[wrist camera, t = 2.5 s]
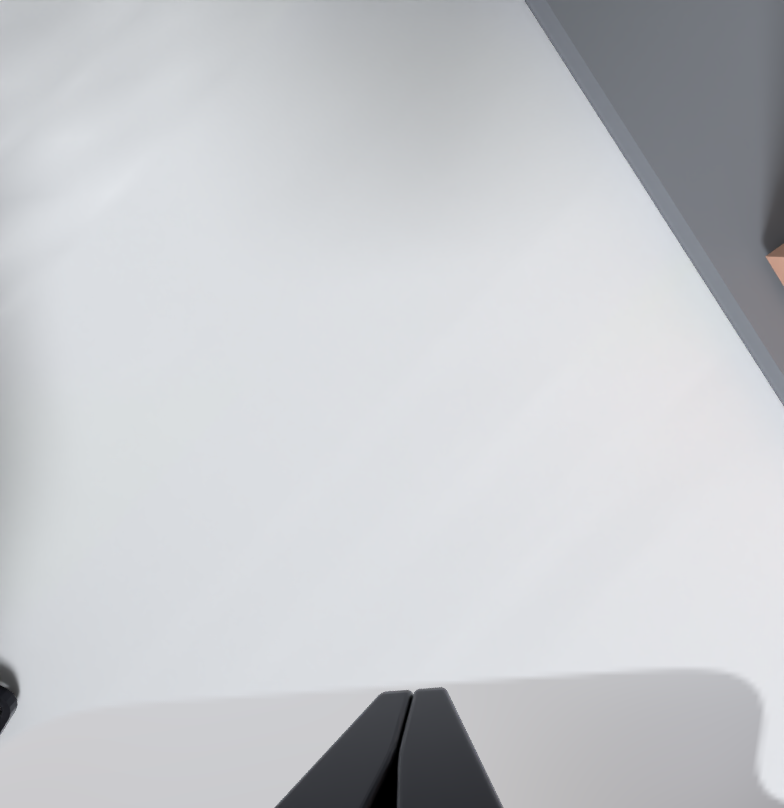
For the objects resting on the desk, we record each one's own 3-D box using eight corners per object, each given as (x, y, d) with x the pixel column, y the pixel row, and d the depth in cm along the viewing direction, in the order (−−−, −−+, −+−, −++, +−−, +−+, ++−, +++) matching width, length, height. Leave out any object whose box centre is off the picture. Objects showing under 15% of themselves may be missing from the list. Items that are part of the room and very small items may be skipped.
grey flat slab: (806, 441, 20) (832, 453, 19) (365, -249, 16) (364, -287, 15) (1020, 297, 19) (1061, 301, 18) (608, -461, 15) (627, -518, 14)
